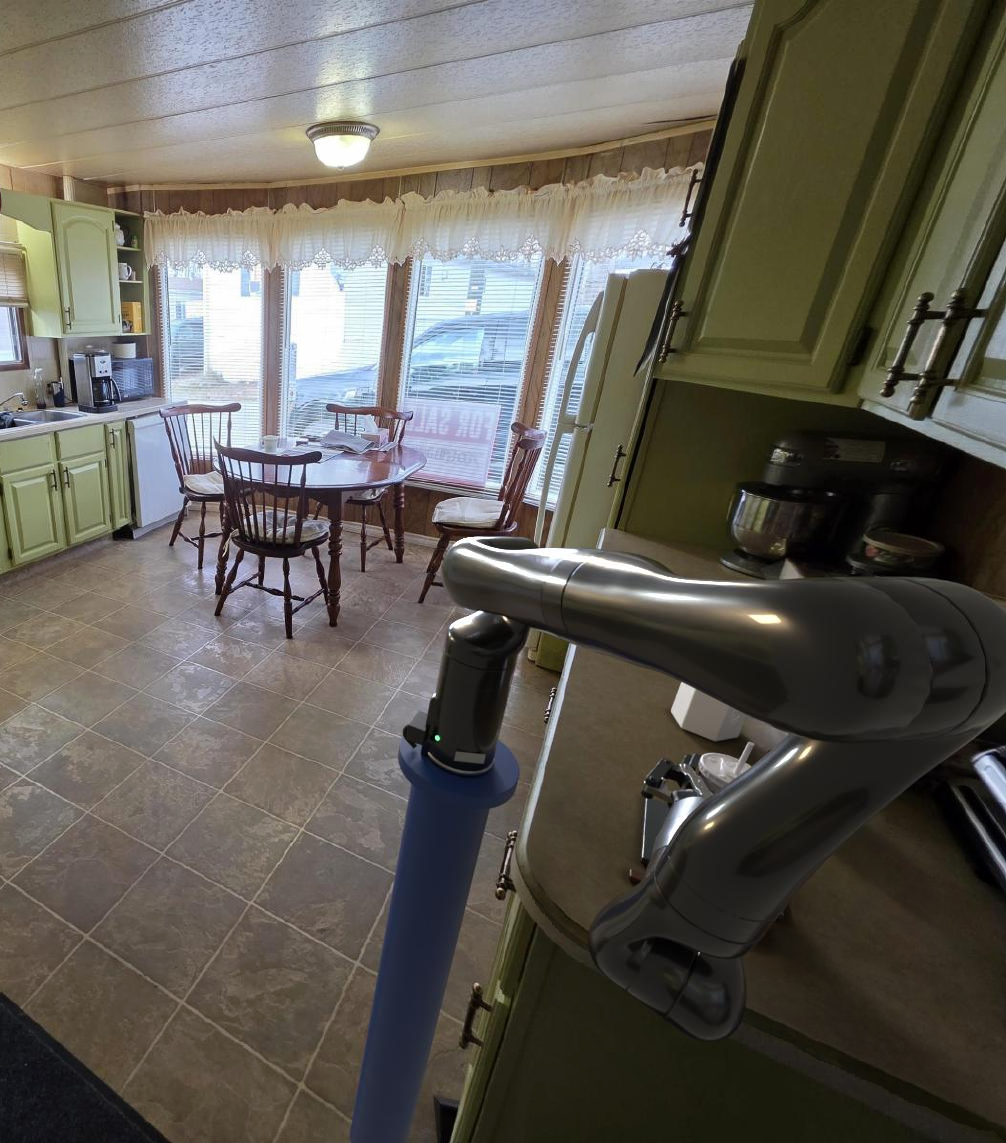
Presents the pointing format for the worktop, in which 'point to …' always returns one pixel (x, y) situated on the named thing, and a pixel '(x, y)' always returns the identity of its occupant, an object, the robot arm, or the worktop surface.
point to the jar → (706, 715)
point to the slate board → (655, 828)
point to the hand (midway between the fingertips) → (730, 774)
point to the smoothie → (722, 768)
